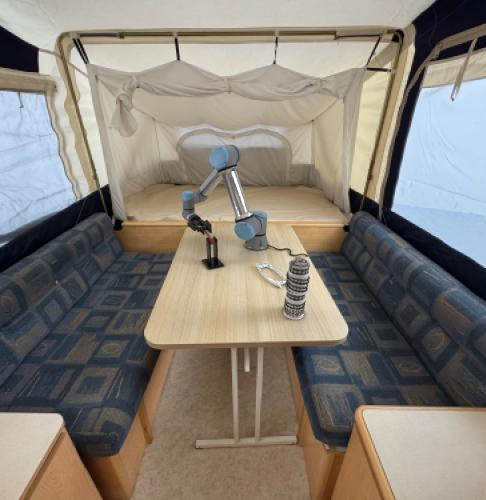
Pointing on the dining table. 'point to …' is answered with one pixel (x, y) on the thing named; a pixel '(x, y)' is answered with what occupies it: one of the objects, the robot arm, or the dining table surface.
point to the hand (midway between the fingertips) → (207, 231)
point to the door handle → (269, 277)
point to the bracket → (213, 261)
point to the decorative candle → (296, 288)
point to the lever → (208, 235)
